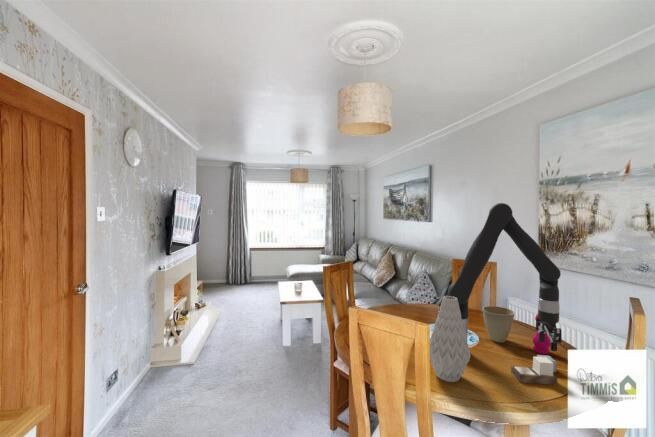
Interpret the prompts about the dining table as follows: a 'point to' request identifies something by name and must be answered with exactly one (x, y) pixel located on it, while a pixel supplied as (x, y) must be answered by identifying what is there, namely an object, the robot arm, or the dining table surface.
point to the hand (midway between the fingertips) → (547, 346)
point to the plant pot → (498, 322)
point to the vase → (449, 342)
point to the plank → (532, 376)
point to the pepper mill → (541, 343)
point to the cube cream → (543, 365)
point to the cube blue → (550, 360)
